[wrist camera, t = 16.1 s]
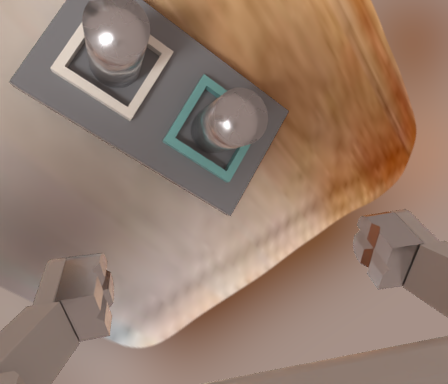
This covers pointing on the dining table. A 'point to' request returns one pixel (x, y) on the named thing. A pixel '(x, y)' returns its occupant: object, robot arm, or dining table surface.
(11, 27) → the dining table surface
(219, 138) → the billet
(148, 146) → the grey flat plate
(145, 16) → the grey tall round-topped piece
